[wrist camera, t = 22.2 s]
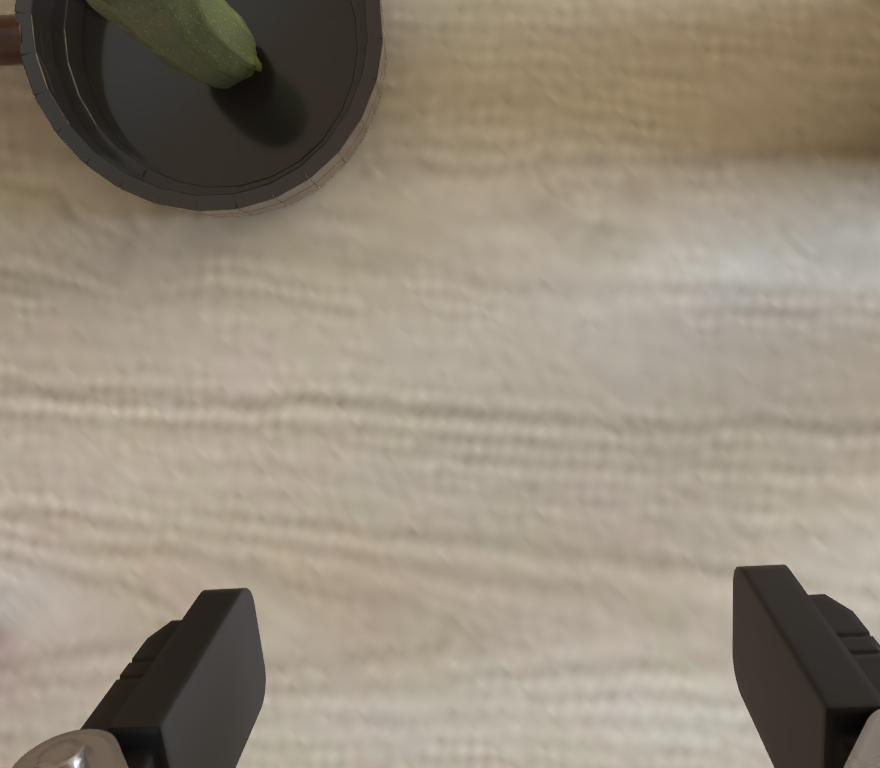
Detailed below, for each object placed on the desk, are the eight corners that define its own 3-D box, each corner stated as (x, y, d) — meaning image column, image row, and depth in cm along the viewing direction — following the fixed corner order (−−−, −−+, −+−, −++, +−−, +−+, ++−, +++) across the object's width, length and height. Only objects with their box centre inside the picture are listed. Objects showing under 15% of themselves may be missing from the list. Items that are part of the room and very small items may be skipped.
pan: (375, -125, 38) (370, -179, 33) (395, 209, 40) (392, 201, 35) (43, -112, 37) (-7, -165, 33) (80, 225, 39) (38, 219, 35)
